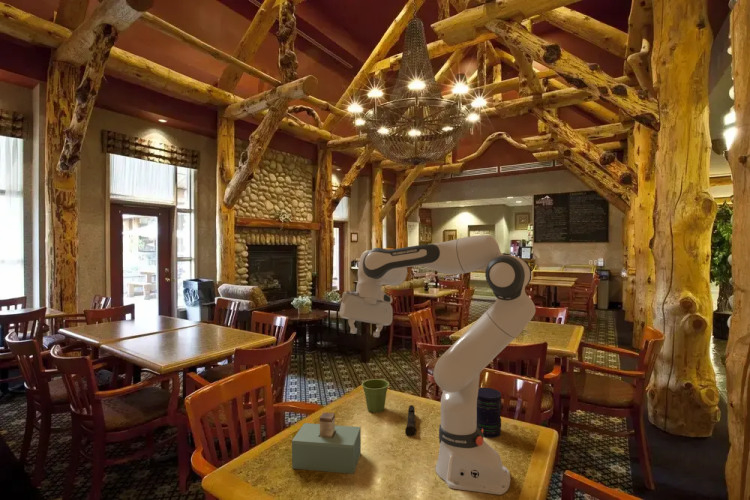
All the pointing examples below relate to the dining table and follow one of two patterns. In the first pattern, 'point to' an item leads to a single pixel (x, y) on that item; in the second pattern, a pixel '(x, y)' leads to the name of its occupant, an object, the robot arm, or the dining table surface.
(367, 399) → the plant pot
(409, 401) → the dining table surface
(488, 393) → the storage jar
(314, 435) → the box with square hole
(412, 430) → the hand tool
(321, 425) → the wooden block
